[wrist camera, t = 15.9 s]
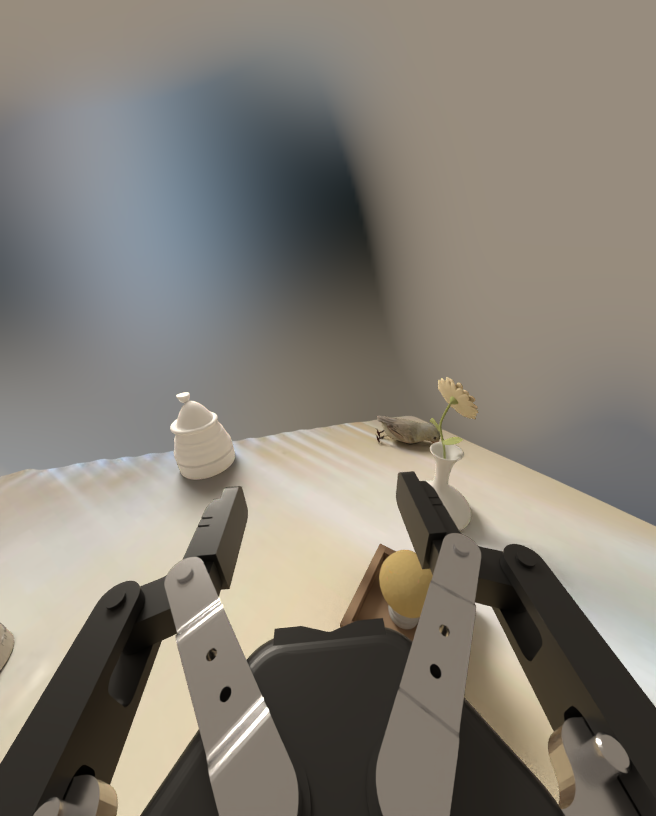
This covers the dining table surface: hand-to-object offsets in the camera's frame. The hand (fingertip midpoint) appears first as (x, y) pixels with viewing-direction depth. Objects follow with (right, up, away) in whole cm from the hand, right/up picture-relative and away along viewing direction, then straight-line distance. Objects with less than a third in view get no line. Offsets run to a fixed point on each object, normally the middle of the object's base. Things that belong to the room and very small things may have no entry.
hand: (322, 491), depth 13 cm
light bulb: (+10, -22, +20) cm, 31 cm away
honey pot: (-30, -9, +52) cm, 60 cm away
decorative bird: (+21, -5, +55) cm, 59 cm away
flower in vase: (+20, -15, +35) cm, 43 cm away
